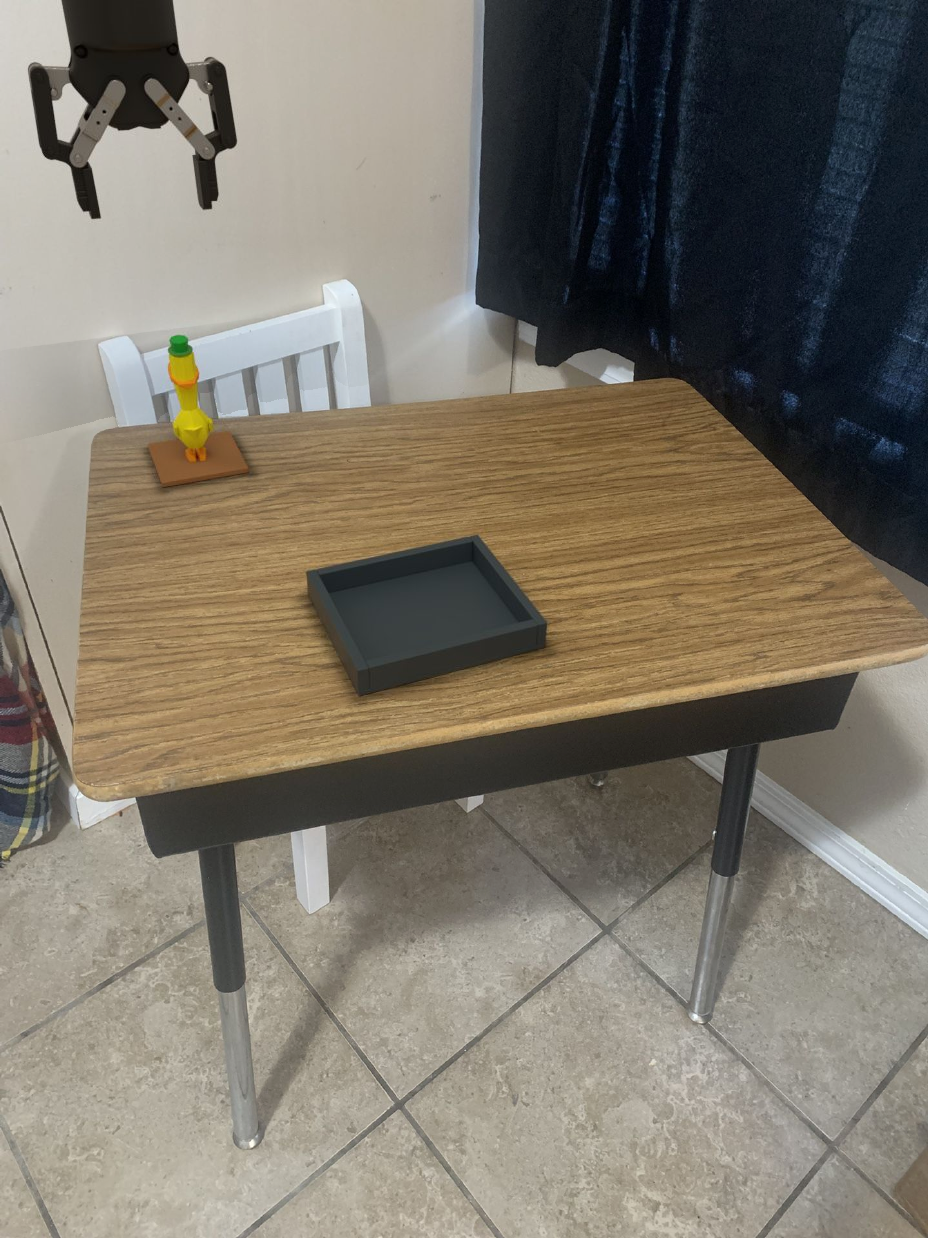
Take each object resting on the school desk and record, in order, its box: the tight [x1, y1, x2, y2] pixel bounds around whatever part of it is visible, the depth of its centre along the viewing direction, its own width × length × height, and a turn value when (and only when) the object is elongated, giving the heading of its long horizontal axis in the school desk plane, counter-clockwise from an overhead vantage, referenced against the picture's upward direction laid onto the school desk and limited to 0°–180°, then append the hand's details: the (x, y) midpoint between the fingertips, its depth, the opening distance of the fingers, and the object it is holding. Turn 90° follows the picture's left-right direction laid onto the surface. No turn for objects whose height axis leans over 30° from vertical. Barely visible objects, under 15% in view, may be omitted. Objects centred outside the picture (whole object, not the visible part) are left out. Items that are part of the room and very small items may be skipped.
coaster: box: [147, 430, 250, 488], centre depth 93 cm, size 8×8×1 cm
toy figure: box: [167, 334, 214, 462], centre depth 90 cm, size 7×4×12 cm, turn 20°
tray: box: [305, 534, 548, 697], centre depth 74 cm, size 15×13×2 cm
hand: (151, 211), depth 77 cm, fingers open, 8 cm apart
